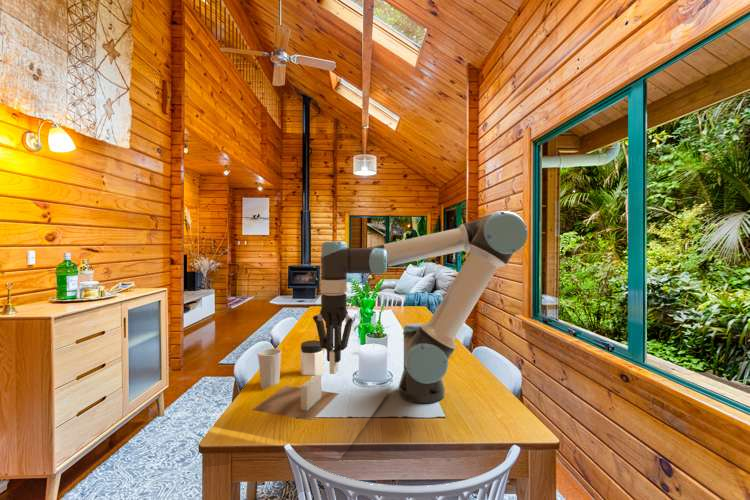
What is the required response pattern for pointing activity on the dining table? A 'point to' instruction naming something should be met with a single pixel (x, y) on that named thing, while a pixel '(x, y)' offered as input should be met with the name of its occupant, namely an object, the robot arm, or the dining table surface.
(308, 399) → the tile
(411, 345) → the robot arm
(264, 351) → the cup
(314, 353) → the jar
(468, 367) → the dining table surface
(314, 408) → the board
